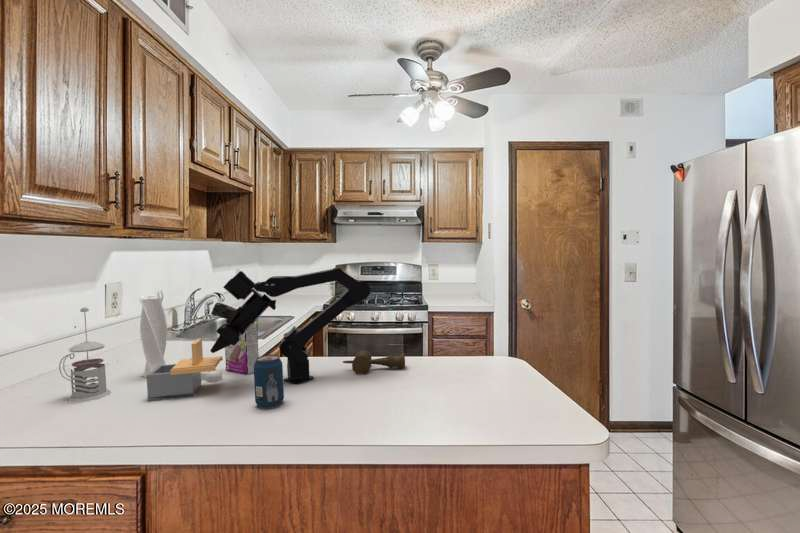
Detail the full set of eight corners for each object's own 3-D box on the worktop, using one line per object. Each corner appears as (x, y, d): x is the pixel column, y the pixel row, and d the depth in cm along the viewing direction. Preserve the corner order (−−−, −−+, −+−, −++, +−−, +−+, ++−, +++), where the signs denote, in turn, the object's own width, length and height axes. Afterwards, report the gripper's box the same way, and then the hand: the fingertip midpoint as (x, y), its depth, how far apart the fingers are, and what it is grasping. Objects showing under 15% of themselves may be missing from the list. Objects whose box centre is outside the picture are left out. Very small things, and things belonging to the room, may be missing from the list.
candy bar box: (224, 371, 136) (222, 321, 136) (237, 367, 140) (235, 319, 140) (247, 375, 130) (244, 323, 130) (260, 371, 135) (257, 321, 134)
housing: (201, 385, 122) (200, 361, 122) (193, 396, 112) (191, 371, 112) (160, 389, 119) (158, 365, 119) (148, 401, 110) (146, 375, 109)
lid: (222, 360, 124) (221, 335, 124) (215, 370, 112) (213, 343, 112) (182, 363, 121) (181, 338, 121) (170, 375, 110) (169, 347, 110)
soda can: (270, 398, 109) (267, 353, 109) (290, 401, 106) (287, 355, 105) (249, 407, 103) (247, 359, 102) (269, 411, 100) (267, 362, 99)
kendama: (405, 374, 128) (340, 375, 127) (404, 366, 137) (344, 367, 137) (405, 355, 128) (340, 356, 127) (404, 348, 137) (344, 349, 137)
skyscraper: (177, 374, 135) (172, 289, 134) (152, 381, 128) (147, 291, 127) (161, 371, 139) (156, 288, 138) (136, 378, 132) (131, 291, 131)
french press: (99, 400, 111) (93, 308, 110) (51, 404, 110) (45, 311, 109) (118, 388, 121) (113, 304, 120) (74, 392, 119) (68, 306, 118)
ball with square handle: (225, 378, 128) (225, 370, 128) (215, 382, 124) (214, 374, 124) (206, 376, 131) (205, 368, 131) (195, 380, 126) (195, 372, 126)
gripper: (233, 289, 127) (196, 327, 125) (223, 295, 109) (179, 340, 107) (261, 313, 130) (225, 351, 127) (256, 323, 112) (213, 367, 109)
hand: (211, 351), depth 118 cm, fingers closed
